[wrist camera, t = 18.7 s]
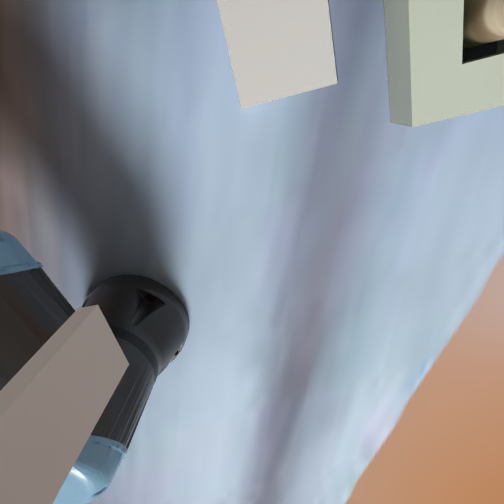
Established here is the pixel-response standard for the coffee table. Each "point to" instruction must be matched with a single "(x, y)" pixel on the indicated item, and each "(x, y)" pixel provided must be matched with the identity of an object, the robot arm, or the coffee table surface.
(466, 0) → the peg
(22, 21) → the coffee table surface
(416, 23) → the socket block
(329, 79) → the coaster
